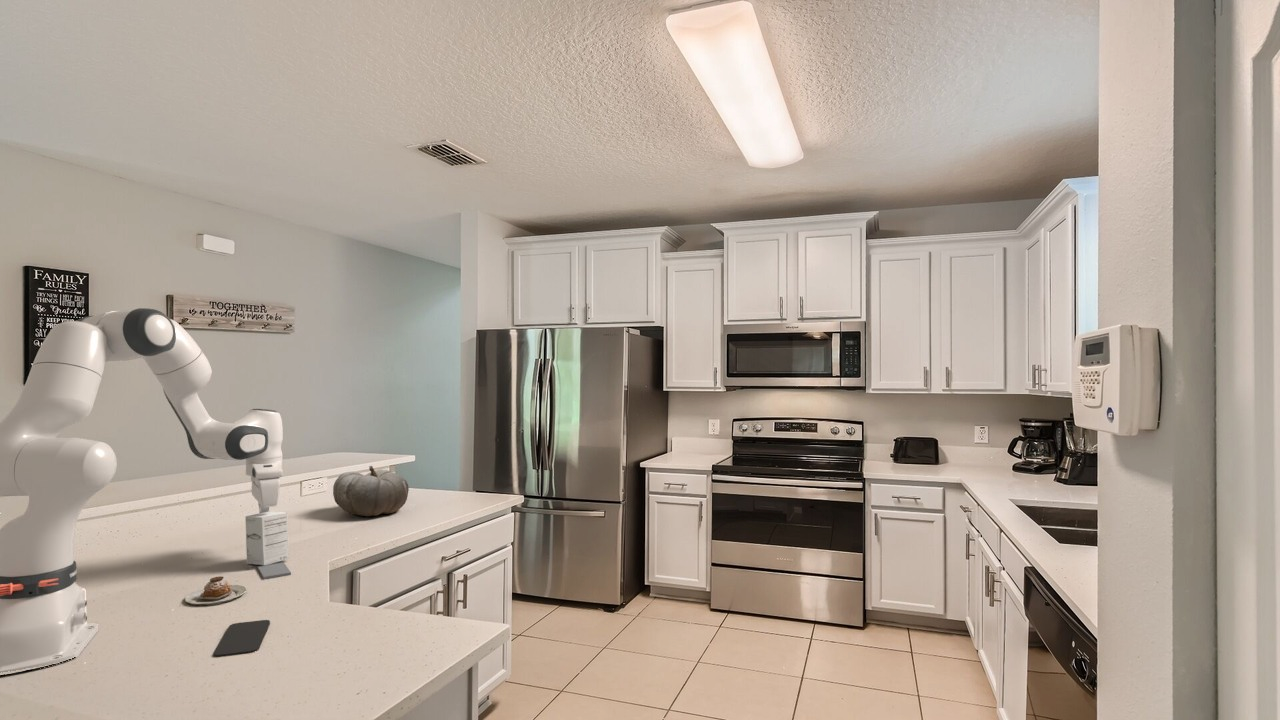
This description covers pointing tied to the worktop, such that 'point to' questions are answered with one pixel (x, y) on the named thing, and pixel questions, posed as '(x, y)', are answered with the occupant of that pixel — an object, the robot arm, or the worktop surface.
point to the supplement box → (267, 538)
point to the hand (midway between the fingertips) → (263, 517)
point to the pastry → (215, 592)
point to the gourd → (370, 492)
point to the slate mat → (274, 570)
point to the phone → (242, 638)
